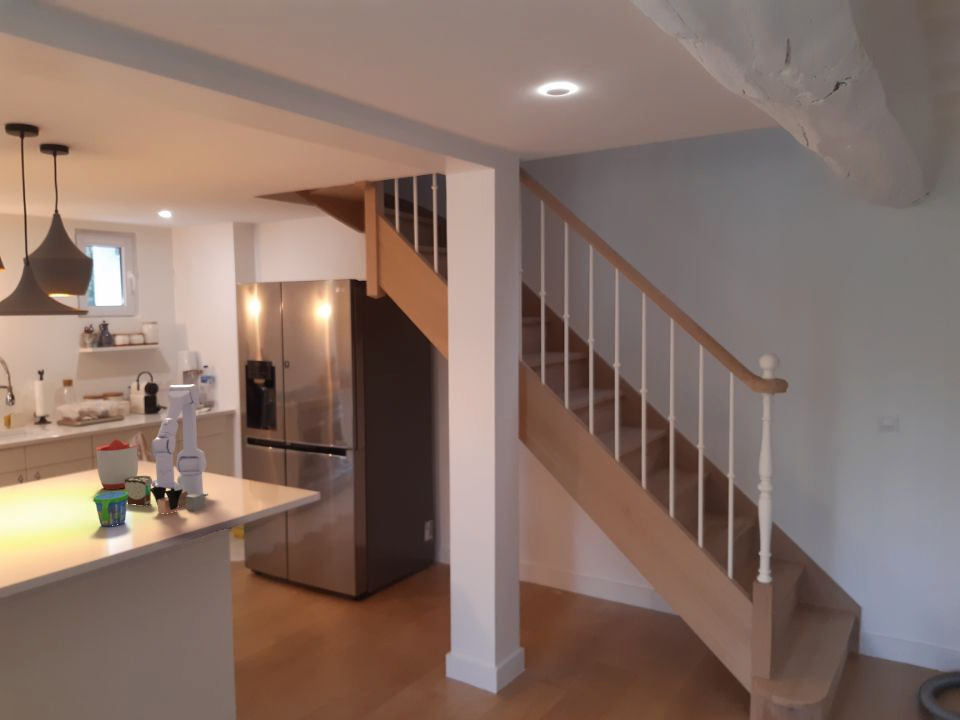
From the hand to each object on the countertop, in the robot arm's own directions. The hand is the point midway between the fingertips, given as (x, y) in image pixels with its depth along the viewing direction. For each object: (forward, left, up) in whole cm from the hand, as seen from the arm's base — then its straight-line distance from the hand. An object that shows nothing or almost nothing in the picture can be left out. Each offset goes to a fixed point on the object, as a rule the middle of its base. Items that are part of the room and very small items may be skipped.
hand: (167, 507), depth 263 cm
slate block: (+5, +8, -2) cm, 10 cm away
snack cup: (-4, -18, -2) cm, 19 cm away
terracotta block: (0, 0, -2) cm, 2 cm away
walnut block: (-5, +8, -2) cm, 10 cm away
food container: (-20, +3, -2) cm, 20 cm away
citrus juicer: (-55, +15, -2) cm, 57 cm away
